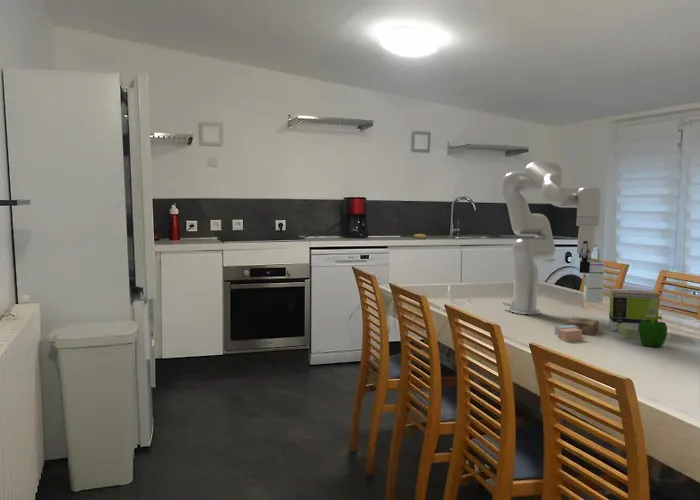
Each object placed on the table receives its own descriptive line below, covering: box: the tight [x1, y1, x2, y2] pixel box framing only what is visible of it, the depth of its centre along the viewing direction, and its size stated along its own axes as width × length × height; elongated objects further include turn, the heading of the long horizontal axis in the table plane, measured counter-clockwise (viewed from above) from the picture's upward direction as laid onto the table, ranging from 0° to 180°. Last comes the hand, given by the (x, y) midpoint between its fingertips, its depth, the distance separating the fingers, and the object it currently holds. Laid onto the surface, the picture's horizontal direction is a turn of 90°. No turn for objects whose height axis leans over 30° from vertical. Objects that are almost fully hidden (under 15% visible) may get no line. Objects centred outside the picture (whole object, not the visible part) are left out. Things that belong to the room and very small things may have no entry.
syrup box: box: [582, 259, 606, 303], centre depth 202 cm, size 6×6×14 cm
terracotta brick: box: [557, 328, 583, 341], centre depth 191 cm, size 7×4×4 cm, turn 112°
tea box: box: [608, 288, 660, 334], centre depth 205 cm, size 15×10×15 cm
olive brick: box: [618, 325, 639, 340], centre depth 196 cm, size 7×4×4 cm, turn 175°
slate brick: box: [554, 324, 579, 336], centre depth 196 cm, size 7×4×4 cm, turn 103°
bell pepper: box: [638, 315, 668, 348], centre depth 183 cm, size 8×8×10 cm
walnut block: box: [566, 317, 600, 336], centre depth 204 cm, size 9×9×4 cm
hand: (585, 271), depth 202 cm, fingers closed on syrup box, 6 cm apart
